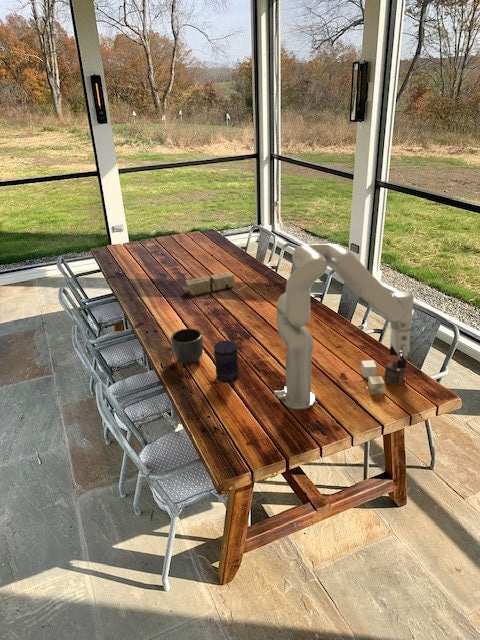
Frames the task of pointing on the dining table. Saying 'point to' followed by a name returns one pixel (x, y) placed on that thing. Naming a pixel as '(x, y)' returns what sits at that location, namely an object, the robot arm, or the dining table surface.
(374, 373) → the grey block
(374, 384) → the birch block
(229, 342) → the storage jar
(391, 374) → the box
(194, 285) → the tan double block
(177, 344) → the planter
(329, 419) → the dining table surface
